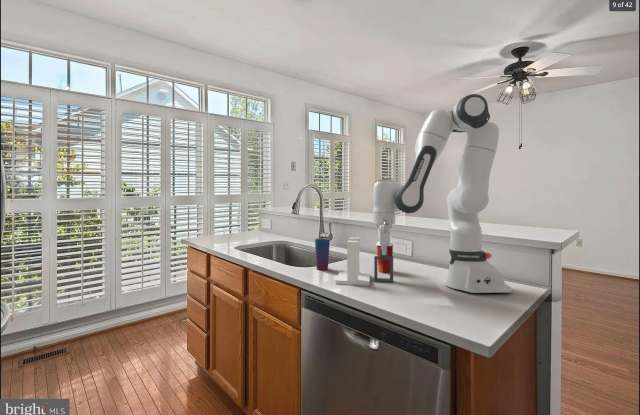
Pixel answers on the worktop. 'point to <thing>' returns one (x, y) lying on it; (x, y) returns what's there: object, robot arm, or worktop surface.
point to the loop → (386, 257)
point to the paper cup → (384, 264)
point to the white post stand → (353, 267)
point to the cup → (322, 253)
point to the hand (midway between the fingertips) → (383, 254)
